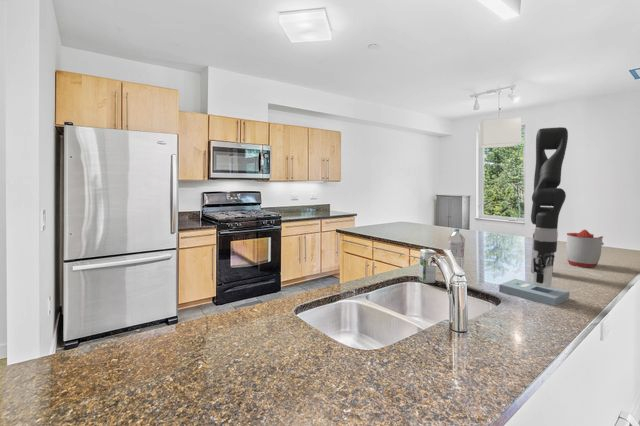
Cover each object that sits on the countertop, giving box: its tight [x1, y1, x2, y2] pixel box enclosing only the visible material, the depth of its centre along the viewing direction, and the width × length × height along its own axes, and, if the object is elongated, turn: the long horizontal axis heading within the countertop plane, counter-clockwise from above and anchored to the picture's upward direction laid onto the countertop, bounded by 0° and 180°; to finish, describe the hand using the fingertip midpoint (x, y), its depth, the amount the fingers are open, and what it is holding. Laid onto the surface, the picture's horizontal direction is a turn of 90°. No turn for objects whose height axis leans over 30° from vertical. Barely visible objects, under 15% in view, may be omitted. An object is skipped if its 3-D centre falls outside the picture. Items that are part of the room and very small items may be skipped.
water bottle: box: [447, 228, 466, 271], centre depth 145 cm, size 7×7×25 cm
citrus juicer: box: [565, 229, 604, 268], centre depth 180 cm, size 16×17×20 cm
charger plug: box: [532, 265, 554, 288], centre depth 129 cm, size 5×5×8 cm
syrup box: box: [418, 248, 437, 284], centre depth 150 cm, size 6×6×14 cm
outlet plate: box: [498, 278, 570, 307], centre depth 133 cm, size 14×20×3 cm
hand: (542, 281), depth 130 cm, fingers closed on charger plug, 4 cm apart
